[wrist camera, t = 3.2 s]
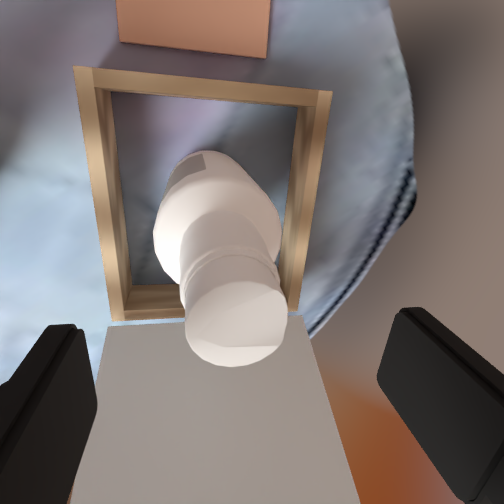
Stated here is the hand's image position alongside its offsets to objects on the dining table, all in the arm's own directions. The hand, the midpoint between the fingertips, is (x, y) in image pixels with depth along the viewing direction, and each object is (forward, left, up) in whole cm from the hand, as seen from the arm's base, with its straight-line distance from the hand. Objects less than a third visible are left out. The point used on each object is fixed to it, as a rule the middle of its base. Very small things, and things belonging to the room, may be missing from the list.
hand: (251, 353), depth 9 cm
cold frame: (+1, 0, -19) cm, 19 cm away
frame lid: (+12, 0, -5) cm, 13 cm away
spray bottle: (0, 0, -19) cm, 19 cm away
